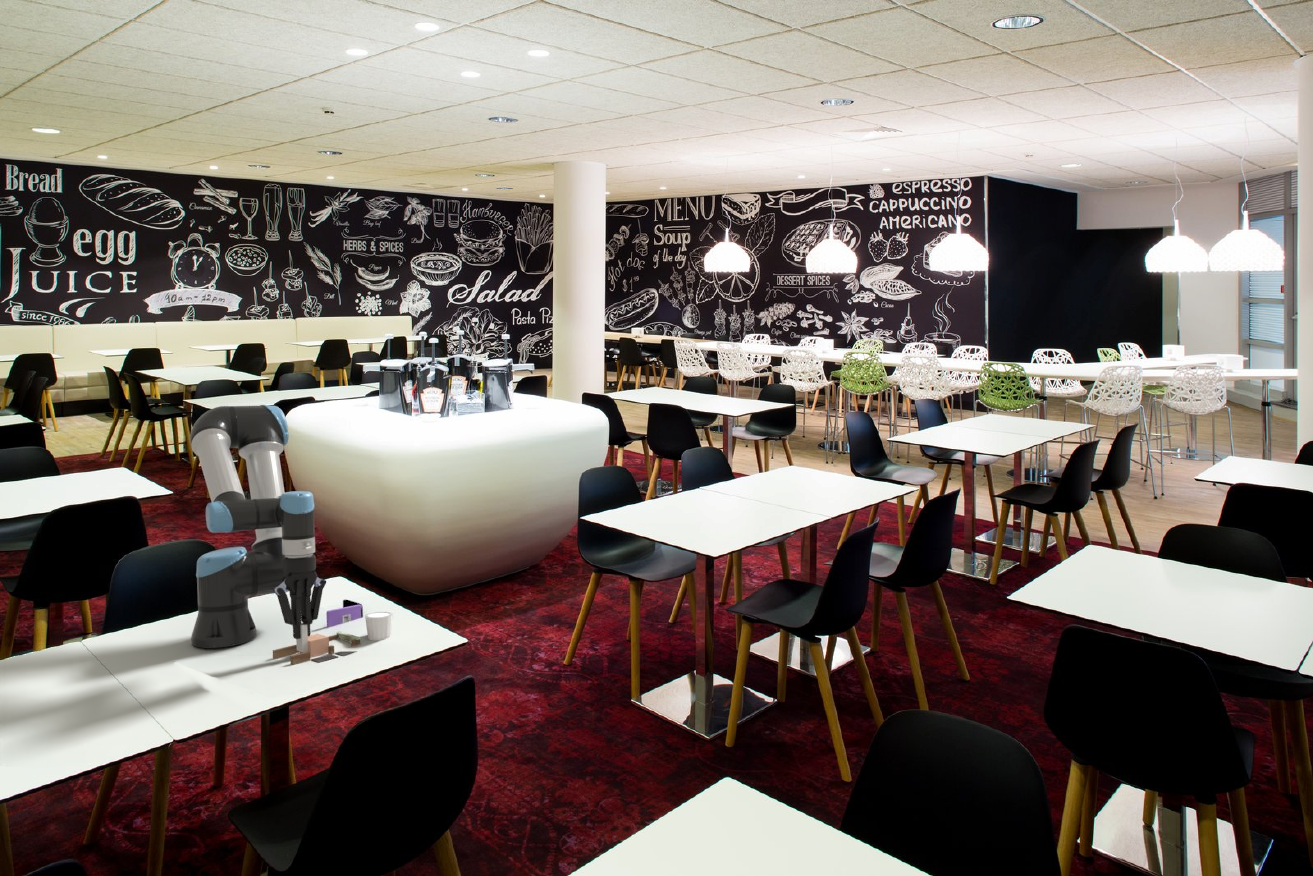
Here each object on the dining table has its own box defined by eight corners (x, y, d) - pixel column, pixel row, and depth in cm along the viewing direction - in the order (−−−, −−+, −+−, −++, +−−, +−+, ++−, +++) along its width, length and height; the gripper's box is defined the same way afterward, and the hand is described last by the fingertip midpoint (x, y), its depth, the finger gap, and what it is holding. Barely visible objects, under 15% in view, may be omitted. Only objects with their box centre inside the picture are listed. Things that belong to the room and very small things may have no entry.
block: (299, 654, 224) (299, 638, 224) (318, 649, 228) (317, 633, 228) (310, 657, 221) (310, 641, 221) (329, 652, 225) (328, 637, 225)
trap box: (272, 658, 221) (272, 648, 221) (340, 641, 236) (339, 631, 236) (301, 667, 213) (300, 657, 213) (369, 649, 228) (368, 639, 228)
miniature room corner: (369, 628, 249) (368, 604, 249) (327, 637, 240) (326, 612, 240) (347, 621, 257) (346, 597, 257) (306, 629, 249) (305, 605, 248)
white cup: (385, 645, 231) (384, 618, 231) (360, 644, 233) (359, 617, 232) (398, 638, 238) (397, 612, 238) (374, 637, 239) (373, 611, 239)
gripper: (281, 560, 214) (285, 659, 215) (331, 552, 224) (334, 647, 225) (265, 557, 218) (269, 654, 220) (315, 549, 229) (318, 642, 230)
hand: (302, 650), depth 222 cm, fingers closed
